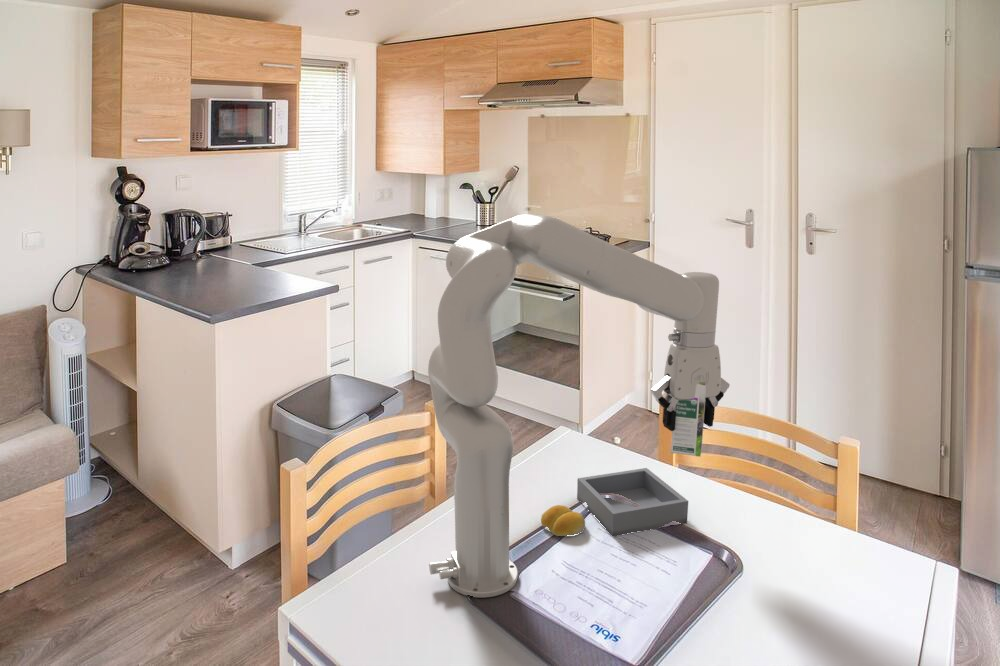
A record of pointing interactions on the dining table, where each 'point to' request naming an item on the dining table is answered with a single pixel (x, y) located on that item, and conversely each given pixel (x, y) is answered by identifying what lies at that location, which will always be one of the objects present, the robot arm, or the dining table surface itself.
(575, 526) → the bread roll
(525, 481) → the dining table surface
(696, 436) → the syrup box
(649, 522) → the bin
